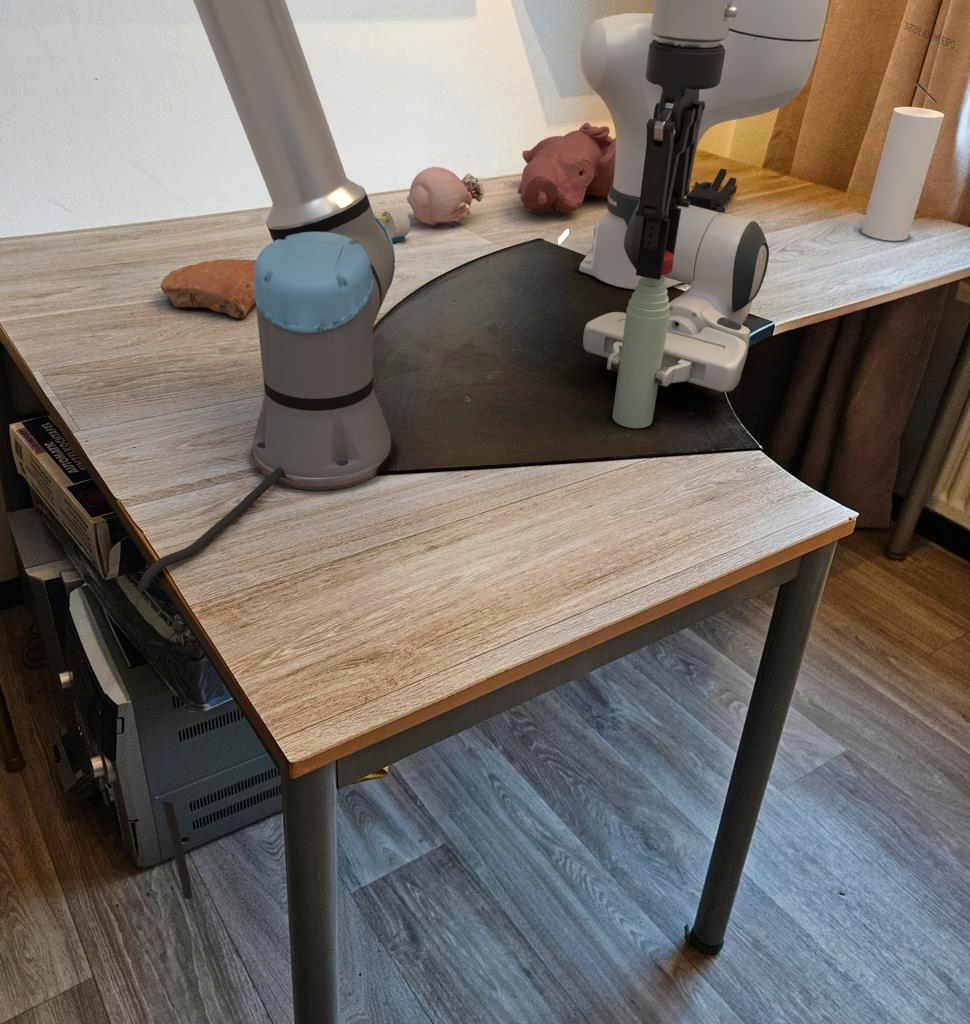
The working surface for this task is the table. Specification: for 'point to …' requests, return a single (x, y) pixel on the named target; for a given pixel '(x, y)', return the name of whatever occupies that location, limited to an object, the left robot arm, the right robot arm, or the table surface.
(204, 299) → the ceramic shard
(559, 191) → the red pig head
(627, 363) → the bottle
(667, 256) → the cap
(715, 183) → the black piece
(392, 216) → the electric motor
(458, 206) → the toy
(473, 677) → the table surface
